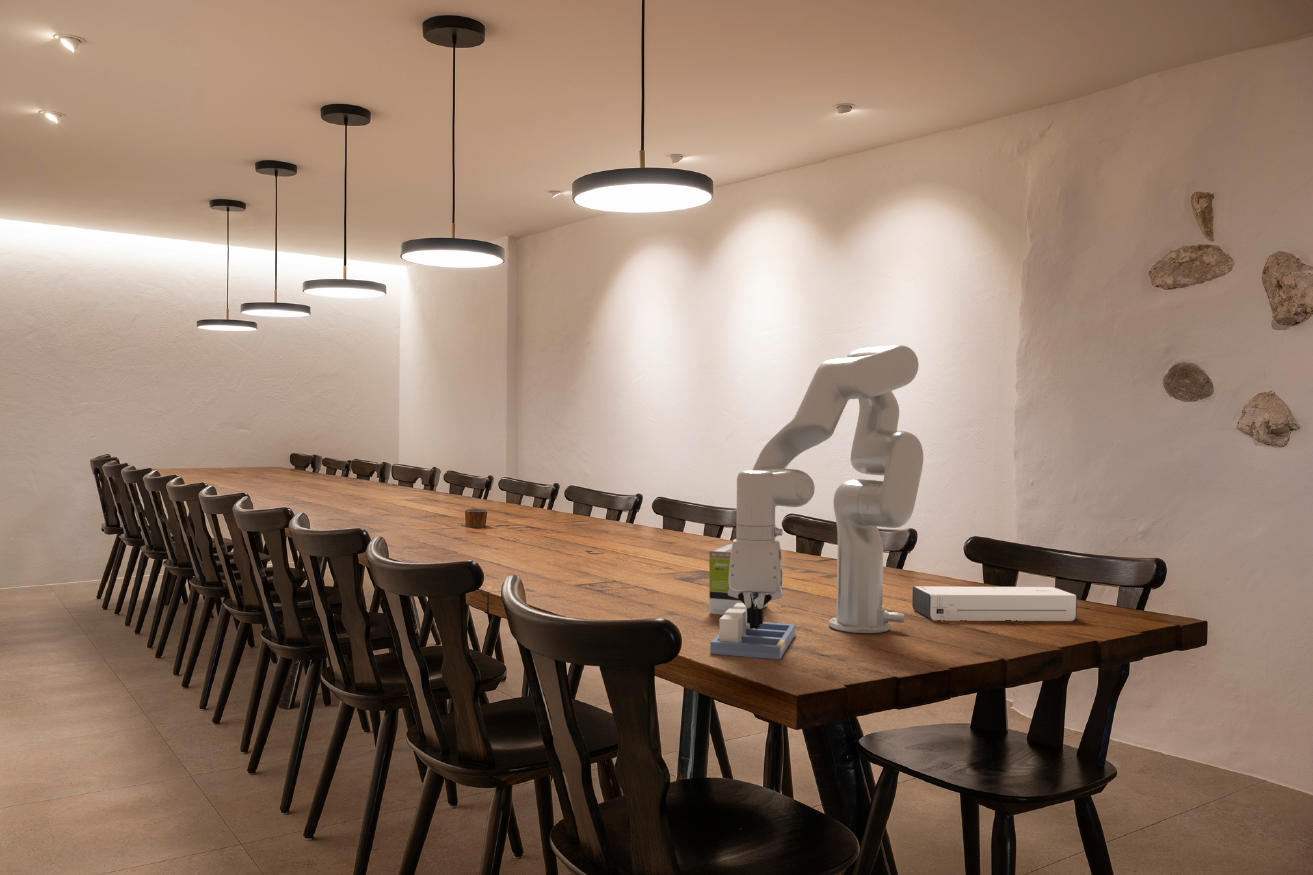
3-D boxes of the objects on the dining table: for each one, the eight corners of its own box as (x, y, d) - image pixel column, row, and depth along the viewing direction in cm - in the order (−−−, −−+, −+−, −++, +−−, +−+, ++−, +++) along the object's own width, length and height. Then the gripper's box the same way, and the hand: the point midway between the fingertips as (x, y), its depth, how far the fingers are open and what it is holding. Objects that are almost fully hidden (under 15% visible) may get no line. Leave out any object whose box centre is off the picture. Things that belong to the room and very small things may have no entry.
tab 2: (741, 642, 172) (742, 615, 172) (737, 646, 169) (737, 620, 169) (723, 640, 173) (724, 614, 173) (719, 645, 170) (719, 618, 170)
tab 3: (753, 628, 185) (754, 603, 185) (750, 632, 181) (750, 607, 181) (736, 626, 186) (737, 602, 186) (732, 630, 182) (733, 606, 182)
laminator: (1052, 612, 215) (1052, 586, 215) (1079, 623, 203) (1079, 596, 203) (912, 612, 213) (912, 586, 213) (930, 623, 201) (931, 595, 201)
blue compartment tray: (795, 635, 184) (795, 624, 184) (779, 659, 164) (780, 647, 164) (732, 630, 188) (732, 619, 188) (710, 653, 168) (710, 641, 168)
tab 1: (746, 634, 179) (746, 609, 179) (742, 639, 175) (742, 613, 175) (728, 633, 180) (729, 608, 180) (724, 637, 176) (724, 612, 176)
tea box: (728, 602, 219) (729, 542, 219) (768, 606, 215) (769, 544, 215) (707, 614, 205) (708, 549, 205) (750, 618, 201) (751, 551, 201)
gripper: (796, 533, 178) (795, 626, 178) (721, 530, 182) (721, 621, 182) (791, 537, 170) (791, 634, 171) (714, 534, 174) (713, 629, 175)
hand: (754, 627), depth 176 cm, fingers closed
